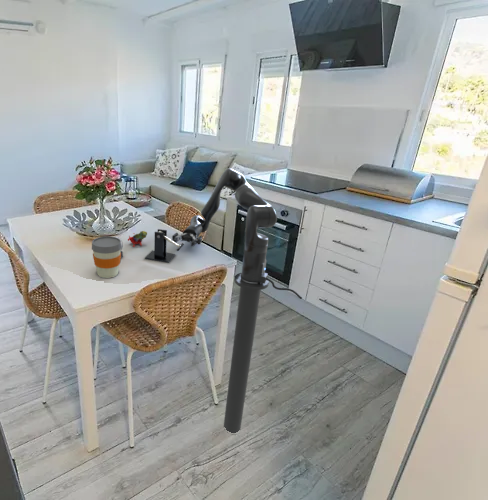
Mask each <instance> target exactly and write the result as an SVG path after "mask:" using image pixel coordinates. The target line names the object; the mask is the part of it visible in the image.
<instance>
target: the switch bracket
mask: <svg viewBox="0 0 488 500" xmlns="http://www.w3.org/2000/svg"><path fill="white" fill-rule="evenodd" d="M159 231H162V232H163V233H162V232H159ZM164 233H165V236H166V237H168V235H167V233H168V229H161V228H158V229H157V231H154V241H153V243H154V247H153V248H154V249H153V250H151V251H150V252H149V253H148V254H147V255H146V256H145V257H144V260H148V261H154V262H160V263H167V264H170V262H171V261H172V260H173V259H174V258H175V256H176V253H172V252H167V243H168V241H167V240H166V239H164Z"/></svg>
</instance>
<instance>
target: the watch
mask: <svg viewBox="0 0 488 500" xmlns="http://www.w3.org/2000/svg"><path fill="white" fill-rule="evenodd" d="M111 237H116V238H119V239H120V240H121V247H122V248H121V251H120V252H121V259H123V257H124V256H123V255H124V254H123V253H124V252H123V248H124V242H123V240H122V239H121V238H120V236H116V235H115V236H113V235H112V236H111Z"/></svg>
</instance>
